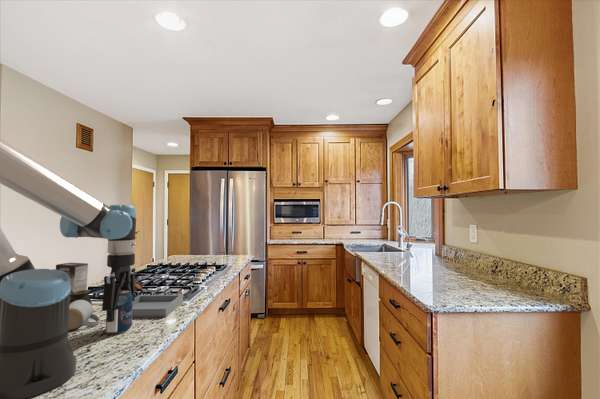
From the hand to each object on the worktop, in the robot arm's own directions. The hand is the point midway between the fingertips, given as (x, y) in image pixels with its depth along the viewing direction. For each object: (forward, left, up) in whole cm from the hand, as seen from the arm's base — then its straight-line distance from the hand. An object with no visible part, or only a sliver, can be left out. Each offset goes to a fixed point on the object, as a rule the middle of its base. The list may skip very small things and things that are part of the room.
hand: (119, 326), depth 92 cm
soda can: (0, 0, -1) cm, 1 cm away
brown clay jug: (+36, +14, -1) cm, 38 cm away
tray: (+20, -1, -1) cm, 20 cm away
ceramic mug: (+4, +15, -1) cm, 15 cm away
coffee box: (+29, +35, -1) cm, 45 cm away
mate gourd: (+16, +23, -1) cm, 28 cm away
